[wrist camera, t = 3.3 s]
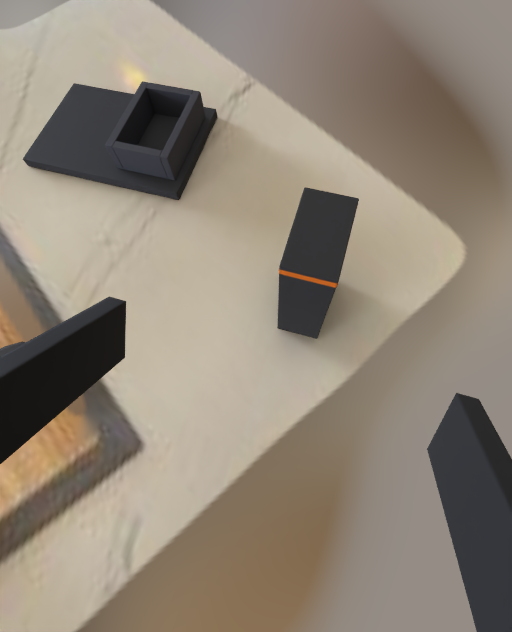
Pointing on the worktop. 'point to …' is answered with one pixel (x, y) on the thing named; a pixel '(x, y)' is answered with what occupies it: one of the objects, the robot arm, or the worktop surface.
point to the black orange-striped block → (313, 260)
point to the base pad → (126, 137)
